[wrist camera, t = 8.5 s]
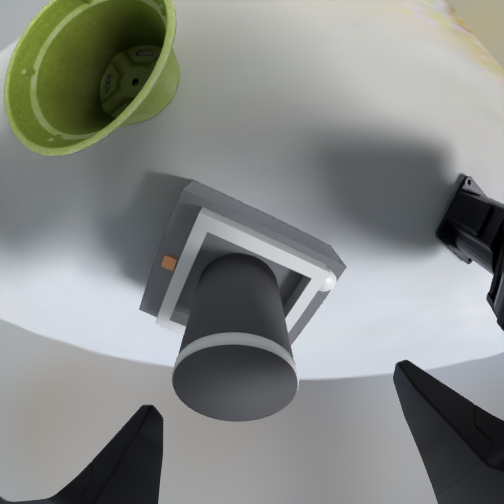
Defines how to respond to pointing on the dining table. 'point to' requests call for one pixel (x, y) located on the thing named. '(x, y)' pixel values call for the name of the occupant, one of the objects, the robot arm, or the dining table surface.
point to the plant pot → (89, 72)
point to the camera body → (236, 241)
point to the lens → (236, 344)
